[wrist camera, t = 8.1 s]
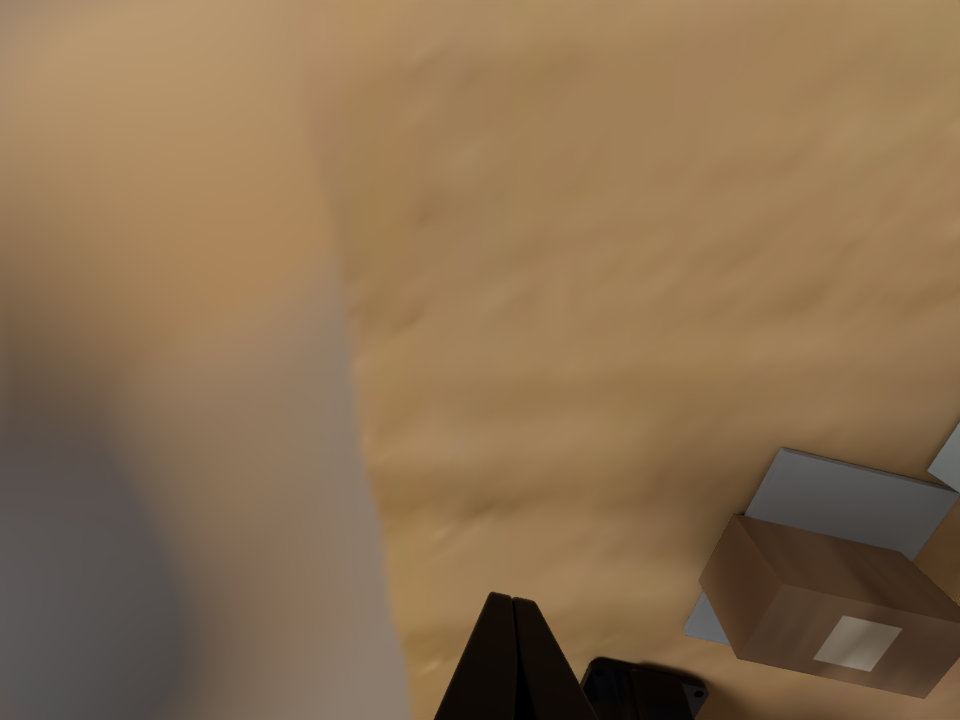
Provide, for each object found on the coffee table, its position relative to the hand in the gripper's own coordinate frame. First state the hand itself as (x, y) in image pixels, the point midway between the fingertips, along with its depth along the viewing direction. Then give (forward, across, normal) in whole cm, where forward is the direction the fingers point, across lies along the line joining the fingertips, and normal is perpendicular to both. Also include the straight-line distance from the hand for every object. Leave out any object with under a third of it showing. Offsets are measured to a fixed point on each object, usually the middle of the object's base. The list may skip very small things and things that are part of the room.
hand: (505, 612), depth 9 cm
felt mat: (+12, -16, +6) cm, 21 cm away
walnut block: (+10, -12, +6) cm, 16 cm away
